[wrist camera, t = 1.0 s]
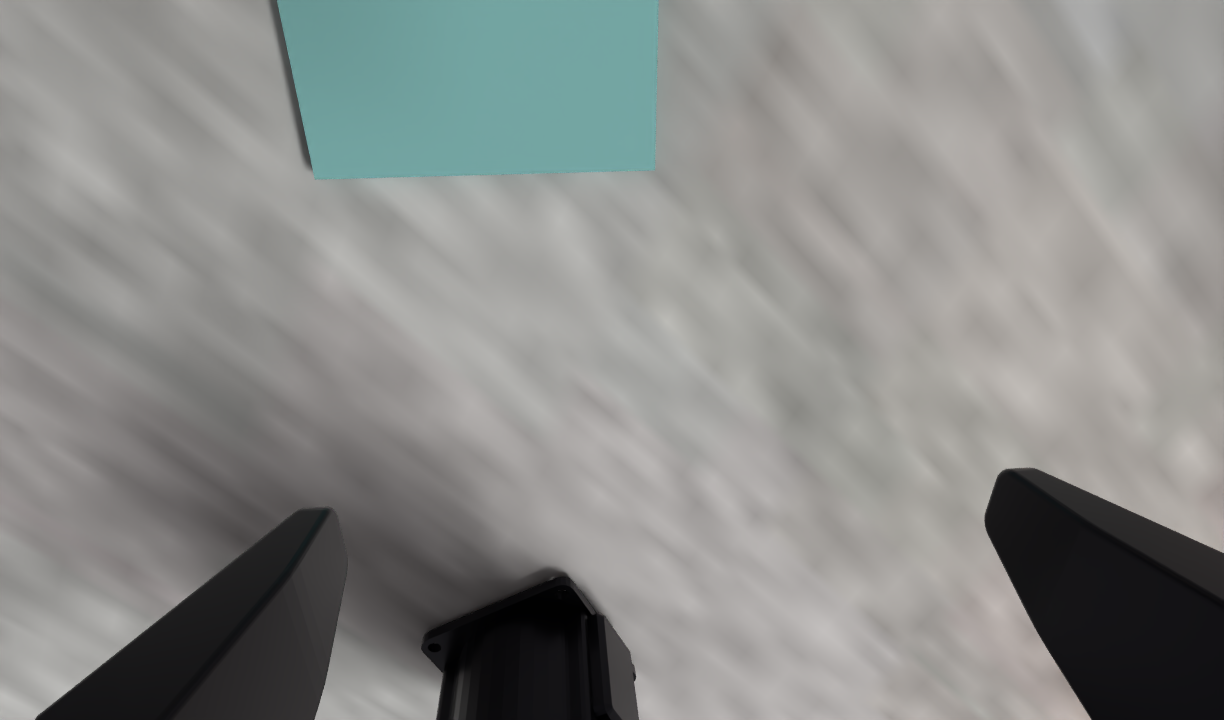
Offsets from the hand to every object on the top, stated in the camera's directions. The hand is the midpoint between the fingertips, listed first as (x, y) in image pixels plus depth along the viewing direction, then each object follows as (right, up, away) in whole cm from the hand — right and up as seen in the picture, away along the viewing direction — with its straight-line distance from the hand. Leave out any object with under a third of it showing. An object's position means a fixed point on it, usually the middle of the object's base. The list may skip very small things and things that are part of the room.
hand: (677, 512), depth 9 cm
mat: (-4, +11, +7) cm, 14 cm away
